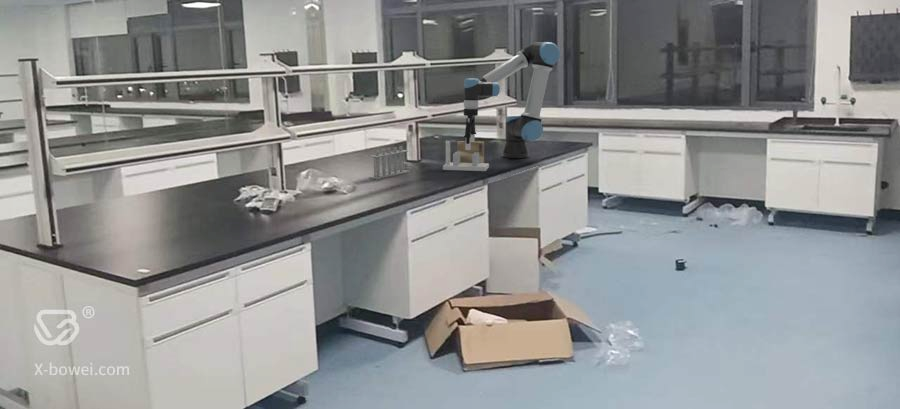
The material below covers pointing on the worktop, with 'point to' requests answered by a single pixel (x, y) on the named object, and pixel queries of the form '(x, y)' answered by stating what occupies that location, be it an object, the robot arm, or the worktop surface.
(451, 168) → the white holder stand
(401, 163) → the test tube rack
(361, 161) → the worktop surface
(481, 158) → the oak door
